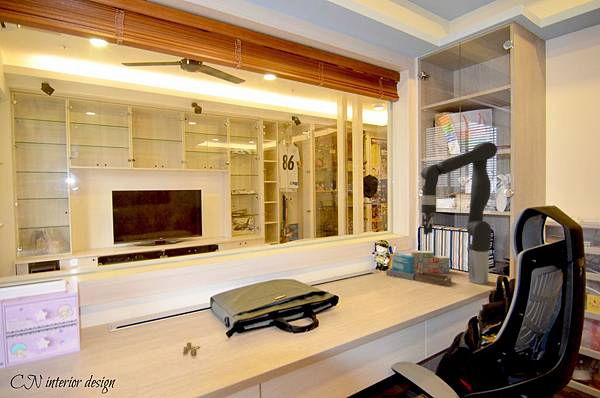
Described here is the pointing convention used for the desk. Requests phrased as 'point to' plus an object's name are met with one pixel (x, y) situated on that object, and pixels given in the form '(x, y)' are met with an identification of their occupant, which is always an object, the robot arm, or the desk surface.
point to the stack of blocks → (430, 262)
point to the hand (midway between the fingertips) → (428, 233)
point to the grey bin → (402, 274)
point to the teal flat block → (403, 263)
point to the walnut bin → (433, 278)
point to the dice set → (193, 348)
